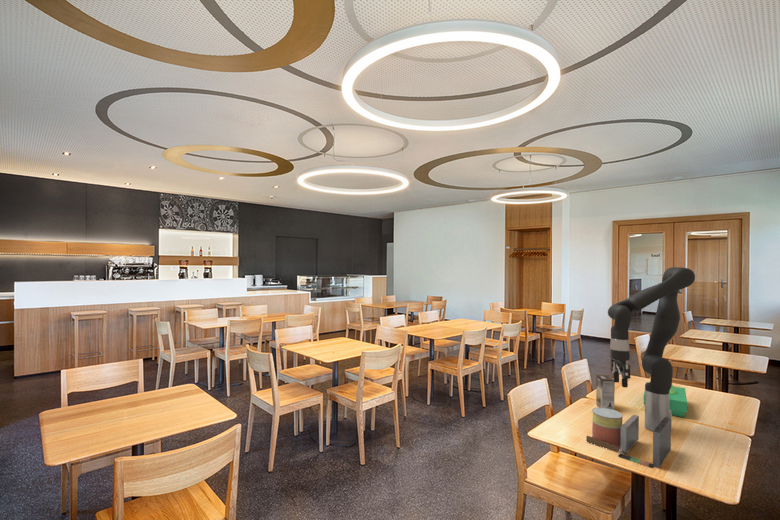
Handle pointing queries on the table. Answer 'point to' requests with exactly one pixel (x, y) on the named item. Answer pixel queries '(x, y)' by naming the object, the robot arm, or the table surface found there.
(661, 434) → the frame
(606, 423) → the canned food
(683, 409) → the green box
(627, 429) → the steel plate
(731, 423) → the table surface
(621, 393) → the table surface
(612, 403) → the coffee box
